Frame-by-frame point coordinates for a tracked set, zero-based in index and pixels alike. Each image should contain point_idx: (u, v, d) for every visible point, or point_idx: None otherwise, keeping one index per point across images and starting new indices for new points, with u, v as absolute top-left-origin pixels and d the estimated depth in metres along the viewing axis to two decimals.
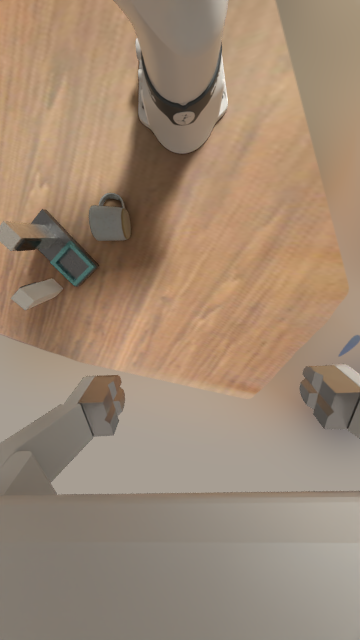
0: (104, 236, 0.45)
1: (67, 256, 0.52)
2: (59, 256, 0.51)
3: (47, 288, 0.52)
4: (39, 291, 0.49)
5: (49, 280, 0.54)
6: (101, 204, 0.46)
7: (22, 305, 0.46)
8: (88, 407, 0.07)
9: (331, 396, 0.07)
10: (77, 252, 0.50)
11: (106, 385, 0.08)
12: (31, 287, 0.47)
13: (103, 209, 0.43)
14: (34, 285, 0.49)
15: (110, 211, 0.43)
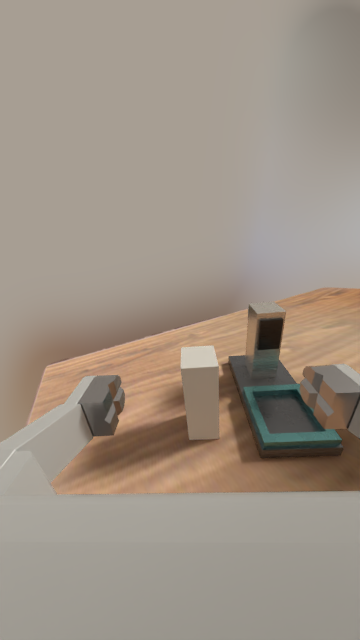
0: None
1: (277, 399, 0.28)
2: (267, 389, 0.28)
3: None
4: None
5: None
6: None
7: (186, 361, 0.21)
8: (88, 407, 0.07)
9: (331, 396, 0.07)
10: None
11: (106, 385, 0.08)
12: None
13: None
14: None
15: None
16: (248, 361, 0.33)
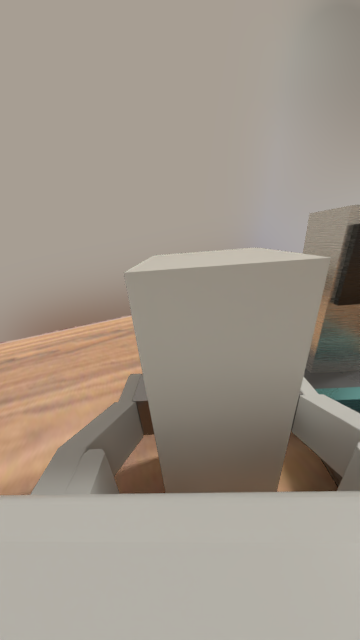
0: None
1: None
2: None
3: None
4: None
5: None
6: None
7: (162, 262, 0.05)
8: (142, 405, 0.07)
9: None
10: None
11: None
12: None
13: None
14: None
15: None
16: None
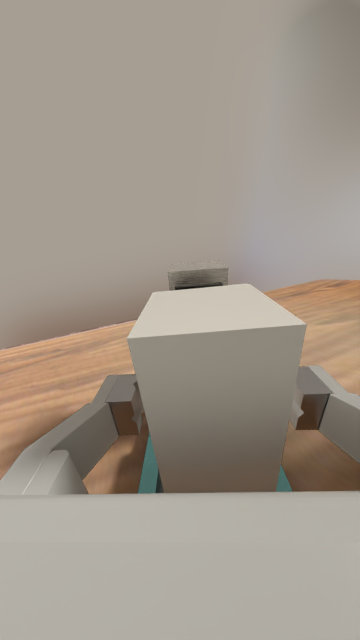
0: None
1: None
2: None
3: None
4: None
5: None
6: None
7: (161, 315, 0.05)
8: (116, 406, 0.07)
9: (300, 397, 0.07)
10: None
11: (131, 384, 0.07)
12: None
13: None
14: None
15: None
16: None
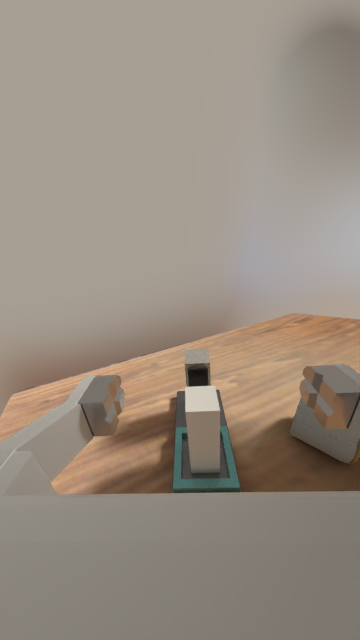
0: (316, 422, 0.27)
1: None
2: None
3: None
4: None
5: None
6: None
7: (190, 403, 0.23)
8: (88, 407, 0.07)
9: (331, 396, 0.07)
10: (227, 445, 0.29)
11: (106, 385, 0.08)
12: None
13: None
14: None
15: None
16: None
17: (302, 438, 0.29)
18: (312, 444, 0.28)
